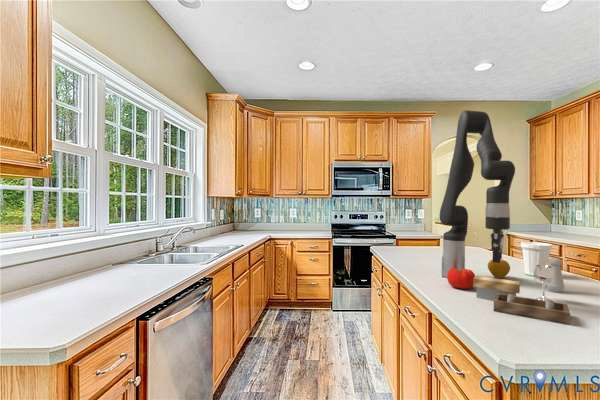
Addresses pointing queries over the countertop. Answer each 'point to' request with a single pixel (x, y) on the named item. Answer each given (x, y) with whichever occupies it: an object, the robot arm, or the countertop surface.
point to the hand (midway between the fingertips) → (497, 260)
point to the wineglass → (543, 277)
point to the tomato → (460, 278)
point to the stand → (490, 293)
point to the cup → (535, 255)
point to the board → (496, 284)
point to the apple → (499, 268)
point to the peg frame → (532, 308)
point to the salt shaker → (556, 276)
